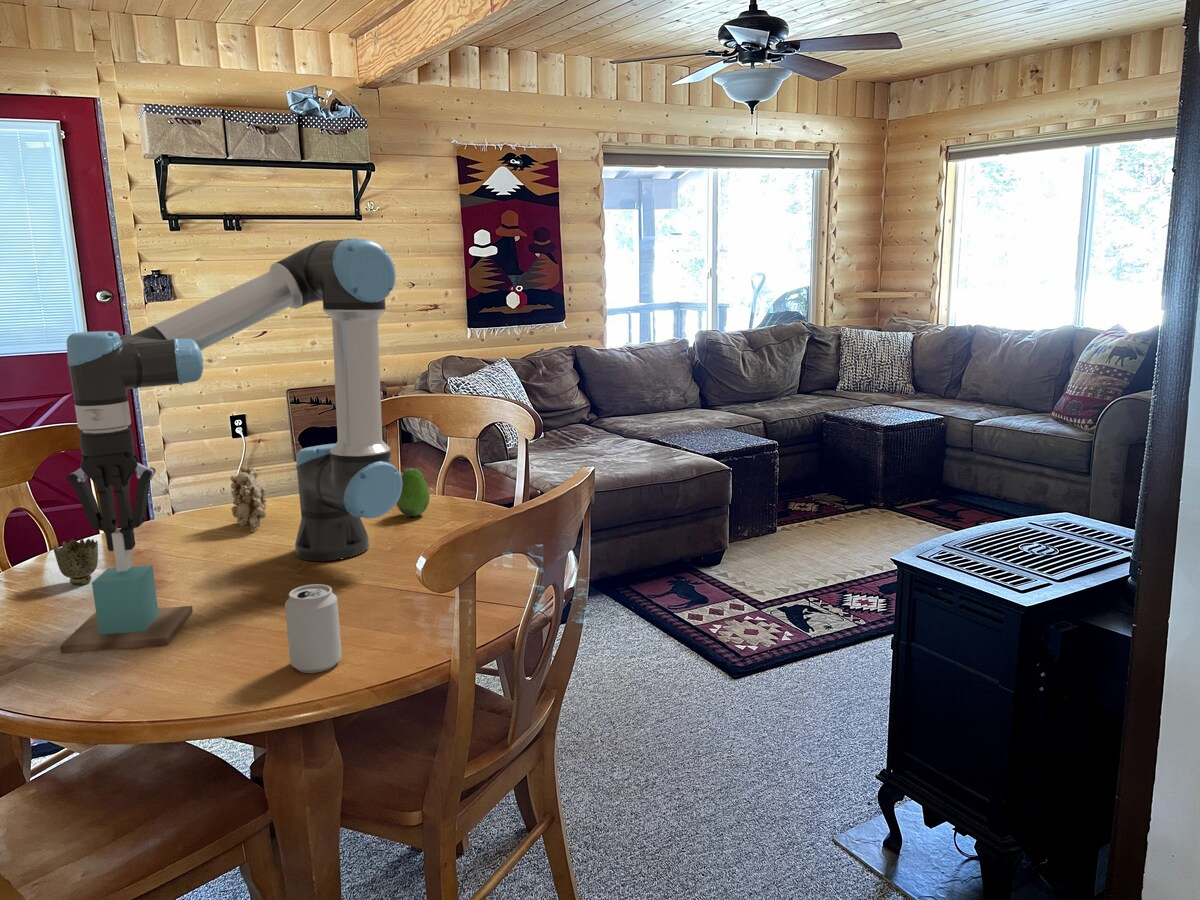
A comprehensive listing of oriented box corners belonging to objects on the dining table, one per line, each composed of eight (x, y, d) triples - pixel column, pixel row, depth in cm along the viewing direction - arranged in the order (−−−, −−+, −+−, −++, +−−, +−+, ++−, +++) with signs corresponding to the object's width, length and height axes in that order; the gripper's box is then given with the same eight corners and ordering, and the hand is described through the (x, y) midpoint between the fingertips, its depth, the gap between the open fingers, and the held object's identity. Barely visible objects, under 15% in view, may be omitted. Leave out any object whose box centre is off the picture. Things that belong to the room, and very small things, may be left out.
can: (297, 655, 137) (291, 582, 135) (346, 652, 138) (340, 580, 135) (285, 676, 130) (277, 600, 127) (336, 674, 130) (330, 598, 128)
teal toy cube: (158, 615, 151) (152, 565, 149) (144, 631, 144) (138, 579, 142) (115, 618, 150) (108, 568, 148) (99, 634, 143) (91, 582, 141)
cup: (82, 591, 166) (77, 551, 164) (49, 589, 168) (43, 549, 166) (111, 577, 173) (106, 539, 172) (79, 575, 175) (74, 537, 173)
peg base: (192, 612, 155) (188, 573, 154) (167, 644, 142) (162, 602, 140) (95, 619, 153) (90, 579, 151) (60, 653, 139) (54, 610, 138)
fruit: (403, 511, 218) (400, 464, 216) (434, 511, 217) (431, 464, 215) (392, 520, 210) (389, 471, 208) (424, 520, 210) (421, 471, 207)
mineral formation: (265, 518, 214) (259, 458, 211) (276, 531, 203) (271, 468, 199) (230, 523, 210) (224, 462, 207) (240, 537, 199) (233, 473, 195)
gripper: (50, 435, 136) (72, 579, 141) (140, 431, 138) (159, 573, 143) (71, 426, 143) (91, 563, 148) (156, 422, 145) (173, 558, 150)
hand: (124, 568), depth 145 cm, fingers closed
